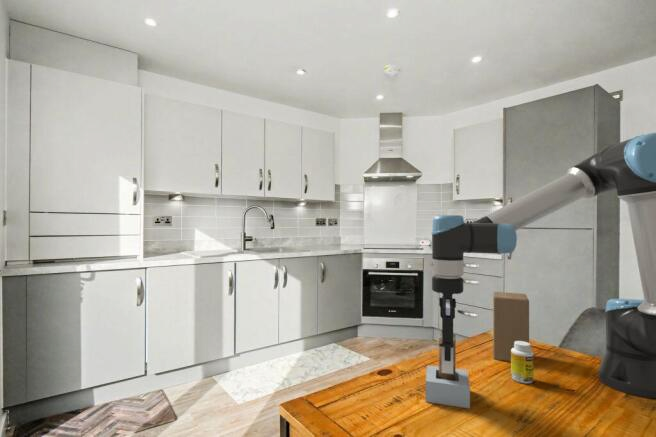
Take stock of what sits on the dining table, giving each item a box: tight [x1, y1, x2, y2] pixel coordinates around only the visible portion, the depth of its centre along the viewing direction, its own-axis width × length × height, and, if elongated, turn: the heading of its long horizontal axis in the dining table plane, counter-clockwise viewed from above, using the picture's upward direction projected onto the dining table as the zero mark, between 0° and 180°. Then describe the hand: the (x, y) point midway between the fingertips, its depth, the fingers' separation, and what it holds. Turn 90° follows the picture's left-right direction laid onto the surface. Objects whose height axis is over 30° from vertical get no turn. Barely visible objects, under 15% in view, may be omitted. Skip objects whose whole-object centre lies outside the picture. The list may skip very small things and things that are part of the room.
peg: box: [438, 332, 457, 381], centre depth 89 cm, size 4×4×14 cm
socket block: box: [425, 364, 471, 409], centre depth 89 cm, size 10×10×5 cm
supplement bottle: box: [510, 341, 535, 385], centre depth 99 cm, size 6×6×10 cm
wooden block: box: [492, 291, 530, 363], centre depth 116 cm, size 10×10×20 cm
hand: (447, 368), depth 89 cm, fingers closed on peg, 4 cm apart
